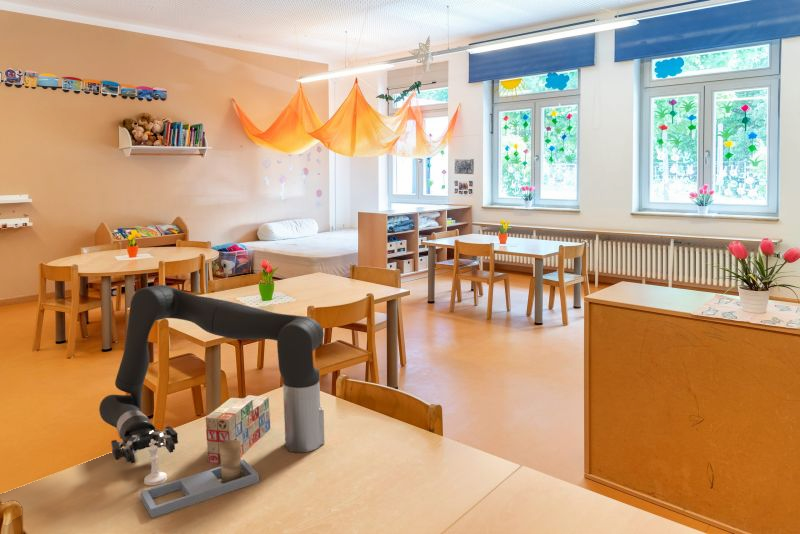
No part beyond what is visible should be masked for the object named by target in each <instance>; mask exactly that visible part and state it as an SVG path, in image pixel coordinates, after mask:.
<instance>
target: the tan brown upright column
mask: <svg viewBox="0 0 800 534" xmlns="http://www.w3.org/2000/svg"><path fill="white" fill-rule="evenodd" d="M220 458H221V465H220V467H221V474H222V476H221V483H222V484H224V483H227V482H230V481H233V480H236V479H239V478H242V477H243V476H242V471H241V460H242V459H241V458H242V456H240V442H239V441H237V440H228V441H224V442H222V443H221V444H220Z"/></svg>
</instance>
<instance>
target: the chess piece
mask: <svg viewBox="0 0 800 534" xmlns="http://www.w3.org/2000/svg"><path fill="white" fill-rule="evenodd" d="M154 443H156V441H155V440H154V439H151V443H149V445H150V447H148V448H147V450H148V453H149V454H150V456H149V457H148V460H149V461H151V468H150V469H151V470H150V473H149V474H147V475H145V476H144V481H143V483H144V484H145V485H146V486H159V485H162V484H164V482H166V480H167V479H168V477H167V474H166V472H163V471H160V470H159V465H158V461H157V459H159V457H160V456H159V455H158V454H157V451H158V449H159V448H158V447H157V446H155V445H154Z"/></svg>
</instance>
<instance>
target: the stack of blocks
mask: <svg viewBox="0 0 800 534" xmlns="http://www.w3.org/2000/svg"><path fill="white" fill-rule="evenodd" d="M269 400H270V399H269V396H263V395H262V396H261V395H251V394H250V395H249V394H248V395H246V397H244V398H239V397H238V398H237V397H230V398H229V399H227V400H226V401H225V402H224V403H223V404H221V405H220V406H218V407H217V408H216V409H215V410H213V411H211V413H209V414H208V415H206V416H205V426H206V427H205V432H206V443H207V457H208V463H209V464H213V465H220V466H221V458H220V444H221V443H222V442H224V441H228V440H237V441H239V442H240V456H241V457H243V455H245V454H246V453H247V452H248V451H249V450H250V449H251V448H252V447H253V445H254V444H255V443H257V442H258V441H259V440H260V438H262V437H263V436H264V435H265V434H266V433H267V432H268V431H269V430H270V429H271V412H270V404H269V403H270V402H269Z"/></svg>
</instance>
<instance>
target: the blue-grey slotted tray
mask: <svg viewBox="0 0 800 534" xmlns="http://www.w3.org/2000/svg"><path fill="white" fill-rule="evenodd" d="M241 473H243V474H244V475H245V476H242V478H239V479H236V480H233V481H230V482H227V483H224V484H222V481H220V480H219V477H222V474H221V466H218V467H215V468H211V469H208V470H205V471H202V472H199V473H195V474H192V475H190V476H189V475H188V476H186V477H185V476H184V477H182V478H179V479H176V480H173V481H169V482H167V483H162V484H158V485H155V486H153V487H150V488H146V489H144V490H140V499H141V502H142V503H143V505H144V507H145V508H146V510H147V513H148V514H149V516H150V517H151V519H154V518H156V517H159V516H162V515H165V514H168V513H170V512H171V513H172V512H174V511H177V510H180V509H183V508H186V507H188V506H191V505H195V504H198V503H201V502H204V501H208V500H210V499H212V498H215V497H219V496H222V495H224V494H228V493H230V492H233V491H236V490H238V489H242V488H246V487H249V486H251V485H255V484H257V483H259V482H260V481H259V480H260V479H259V478H260V477H259V476H260V475H259V472H258V471H256V469H254V468H253V467H252V466H251V465H250V464H249V463H248V461H247V460H246V459H241ZM178 490H181V491H182V493H183V494H184V495H185V496H181V497H178V498H175V499H173V500H170V501H166V502H163V503H160V504H157V505H156V502H155V501H154V500H153V499H154V498H156V497H160V496H163V495H166V494H170V493H172V492H175V491H176V492H177V491H178Z"/></svg>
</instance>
